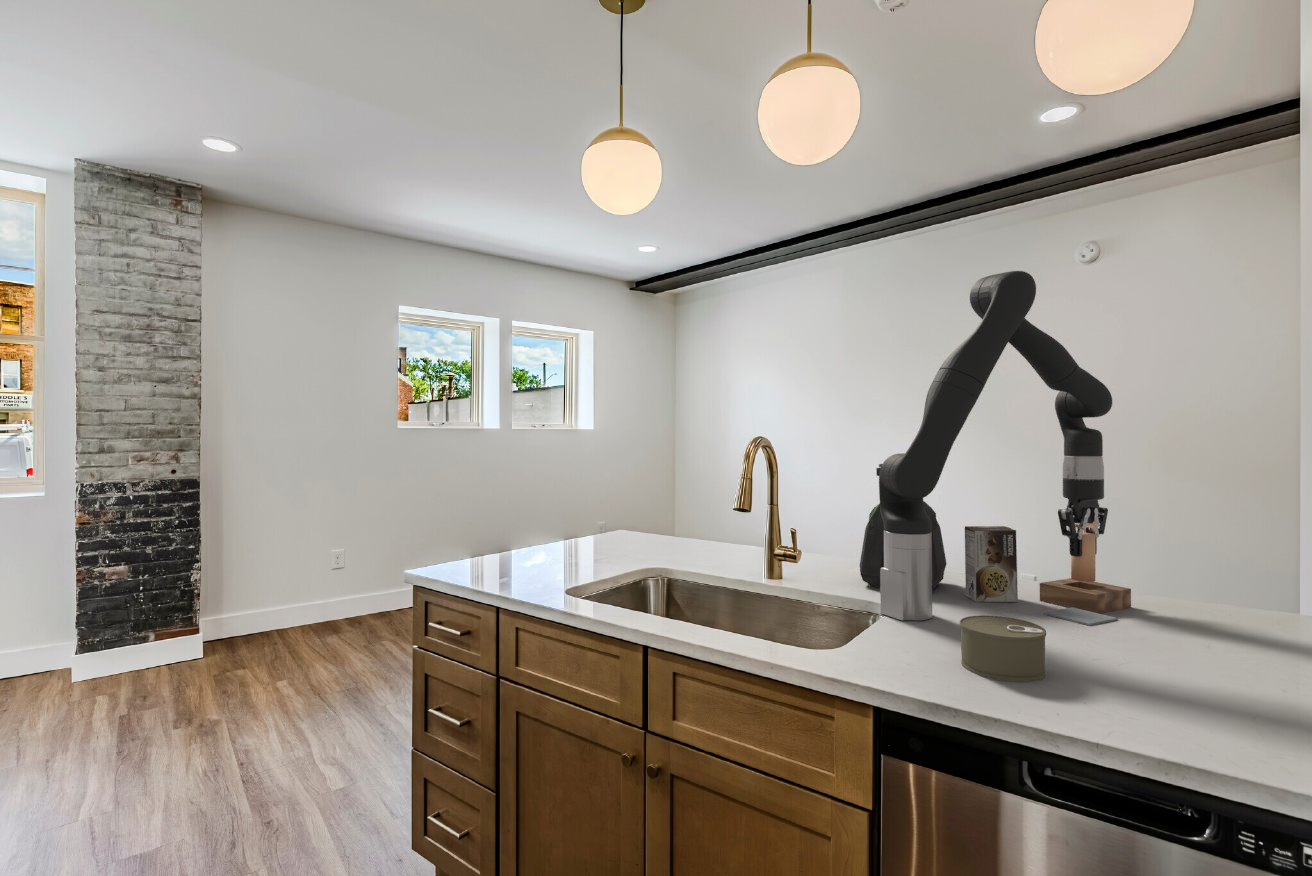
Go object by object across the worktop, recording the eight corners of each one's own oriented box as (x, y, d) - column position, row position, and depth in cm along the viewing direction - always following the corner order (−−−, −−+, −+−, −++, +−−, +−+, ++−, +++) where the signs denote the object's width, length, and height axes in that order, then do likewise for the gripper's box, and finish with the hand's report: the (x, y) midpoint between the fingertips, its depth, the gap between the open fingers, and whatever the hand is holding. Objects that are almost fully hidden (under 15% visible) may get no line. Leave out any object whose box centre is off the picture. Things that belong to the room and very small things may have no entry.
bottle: (857, 586, 156) (856, 464, 157) (875, 574, 170) (874, 462, 170) (936, 596, 146) (934, 466, 147) (948, 582, 160) (947, 463, 160)
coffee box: (1005, 595, 147) (1004, 525, 147) (1018, 602, 140) (1018, 529, 140) (964, 595, 147) (963, 525, 148) (975, 602, 141) (974, 529, 141)
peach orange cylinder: (1087, 582, 136) (1087, 535, 136) (1066, 578, 140) (1066, 532, 140) (1100, 580, 138) (1100, 534, 138) (1079, 576, 142) (1079, 531, 142)
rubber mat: (1089, 625, 123) (1089, 623, 123) (1044, 614, 131) (1043, 612, 131) (1117, 620, 126) (1117, 618, 126) (1072, 609, 135) (1072, 607, 135)
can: (963, 651, 109) (963, 611, 109) (1045, 664, 103) (1045, 621, 103) (956, 674, 98) (956, 630, 98) (1047, 689, 92) (1047, 642, 92)
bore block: (1095, 614, 131) (1095, 594, 131) (1039, 600, 142) (1039, 582, 142) (1131, 607, 136) (1130, 588, 136) (1074, 595, 147) (1074, 577, 147)
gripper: (1079, 478, 132) (1079, 560, 132) (1121, 477, 138) (1121, 555, 138) (1044, 476, 139) (1045, 555, 139) (1086, 475, 145) (1086, 550, 145)
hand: (1083, 554), depth 139 cm, fingers closed on peach orange cylinder, 4 cm apart
